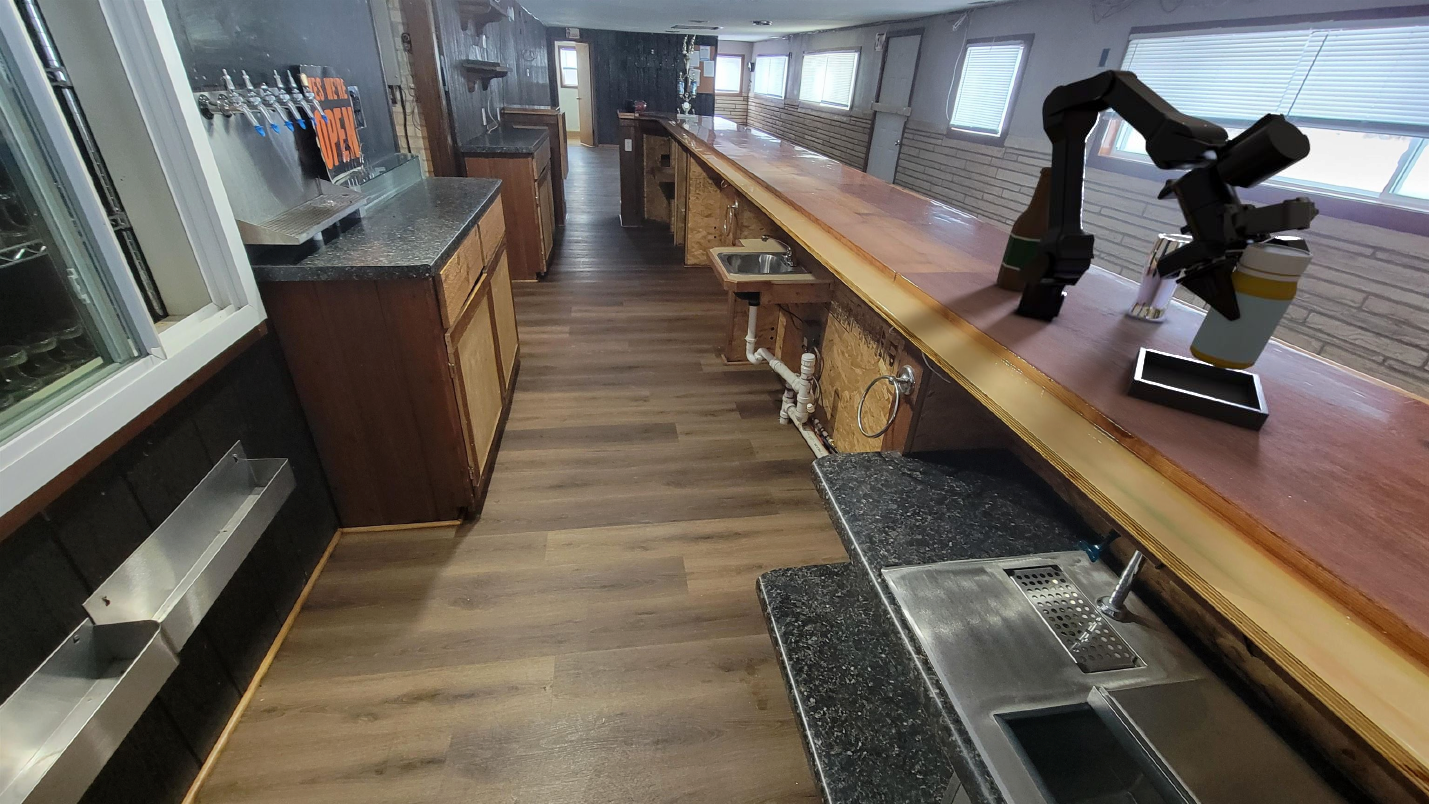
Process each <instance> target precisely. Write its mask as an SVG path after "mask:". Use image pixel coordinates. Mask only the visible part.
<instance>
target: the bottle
mask: <svg viewBox="0 0 1429 804" xmlns="http://www.w3.org/2000/svg"><path fill="white" fill-rule="evenodd" d="M1313 258H1314V254H1313V253H1312V252H1311V251H1310V252H1307V251H1304V250H1300V249H1296V248H1292V247H1287V246H1281V245H1275V244H1267V243H1264V242H1261V243H1250V244H1249V245H1248V246H1247V247H1246V249H1245V251H1244V253H1243V255H1242V257H1241V258H1240V262H1239V263H1238V265H1237V267H1235V268H1234V270H1233V272H1232V275H1231V279H1232V282H1233V286H1234V290H1235V294H1236V298H1237V303H1238V306H1239V310H1240V316H1241V317H1240V318H1239V319H1237V320H1234V321H1229V320H1228V319H1226V318H1225V317H1224V316H1222V315H1221V314H1220V313H1219V312H1217V311H1216V310H1215V309H1214V308H1212V307H1211V306H1210V307H1209V309H1208V311H1207V312H1206V315H1205V316H1204V319H1203V321H1202V323H1201V324H1200V327H1199V328H1198V330H1197V332H1196V334H1195V335H1194V338H1193V340H1192V341H1191V344H1190V346H1189V351H1190V354H1191V355H1192V356H1193V357H1194V358H1195V359H1196V360H1197V361H1201V362H1204V363H1207V364H1210V365H1213V366H1216V367H1220V368H1224V369H1231V370H1240V371H1243V370H1244V371H1245V370H1246V369H1249V368H1252V367H1253V366H1255V364H1256V362H1257V361H1258V359H1260V356H1261V354H1262V353H1263V351H1264V349H1265V347H1266V346H1267V344H1268V343H1269V341H1270V339H1271V338H1272V337H1273V334H1274V332H1275V331H1276V330H1277V328H1278V325H1279V324H1280V322H1281V321H1282V319H1283V318H1284V316H1285V314H1286V312H1287V310H1288V309H1289V308H1290V305H1292V303H1293V301H1294V299H1295V297H1296V295H1297V291H1298V282H1299V281H1300V279H1301V278H1302V276H1303V274H1304V273H1305V272H1306V270H1307V268H1308V266H1309V265H1310V263H1311V261H1312V260H1313Z"/></svg>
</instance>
